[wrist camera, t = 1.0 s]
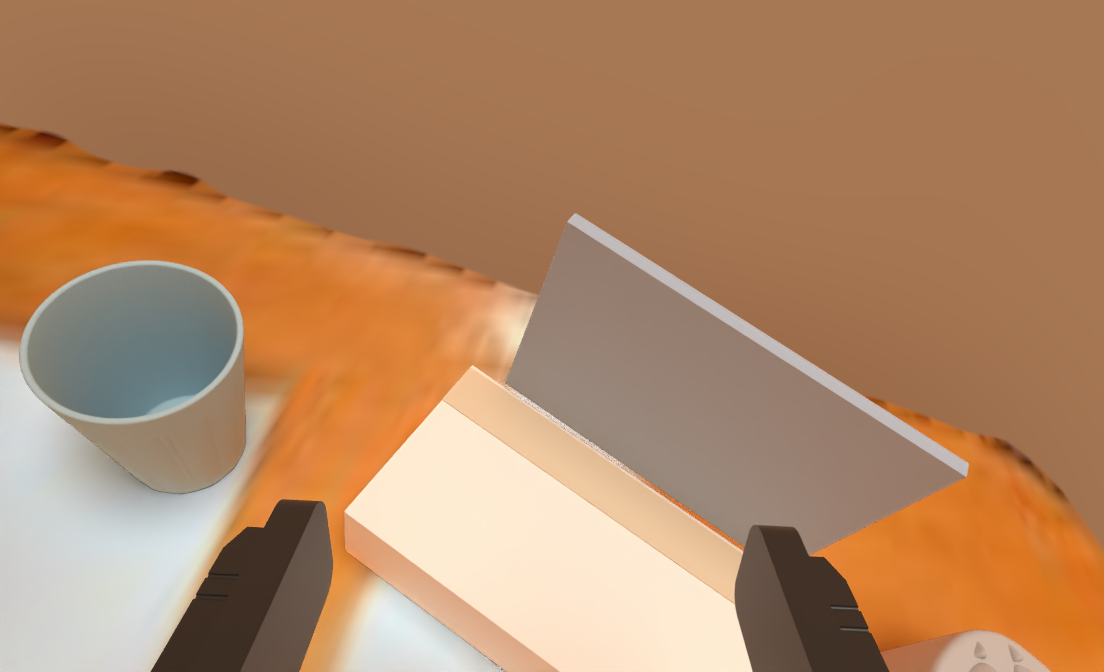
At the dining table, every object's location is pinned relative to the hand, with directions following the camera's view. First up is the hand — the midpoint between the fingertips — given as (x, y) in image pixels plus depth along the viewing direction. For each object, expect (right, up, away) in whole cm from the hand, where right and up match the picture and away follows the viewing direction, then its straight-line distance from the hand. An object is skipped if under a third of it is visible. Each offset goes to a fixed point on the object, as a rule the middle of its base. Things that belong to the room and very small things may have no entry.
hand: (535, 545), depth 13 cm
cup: (-19, -2, +22) cm, 29 cm away
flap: (+5, -2, +20) cm, 21 cm away
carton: (+1, -9, +23) cm, 24 cm away
